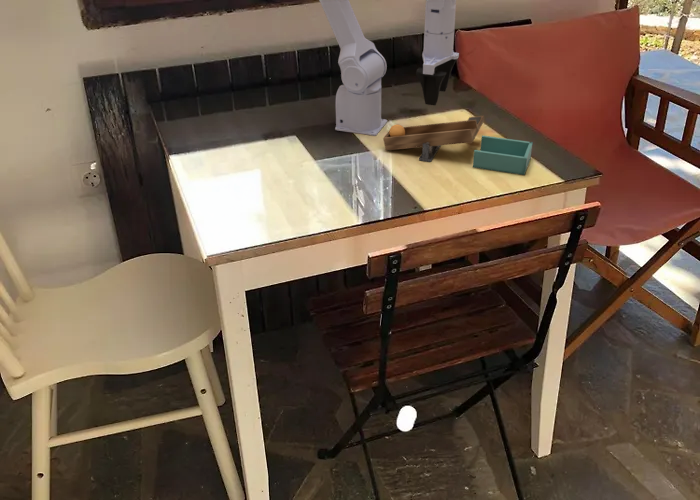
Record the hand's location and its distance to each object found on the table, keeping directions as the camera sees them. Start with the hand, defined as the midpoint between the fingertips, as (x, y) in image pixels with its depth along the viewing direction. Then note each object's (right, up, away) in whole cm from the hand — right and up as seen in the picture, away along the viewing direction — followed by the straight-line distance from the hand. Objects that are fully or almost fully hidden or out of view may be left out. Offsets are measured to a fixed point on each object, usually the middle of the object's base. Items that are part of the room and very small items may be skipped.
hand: (435, 97), depth 146 cm
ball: (-8, -7, +1) cm, 10 cm away
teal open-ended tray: (+12, -14, -4) cm, 19 cm away
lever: (0, -8, +1) cm, 8 cm away
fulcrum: (-1, -11, 0) cm, 11 cm away
